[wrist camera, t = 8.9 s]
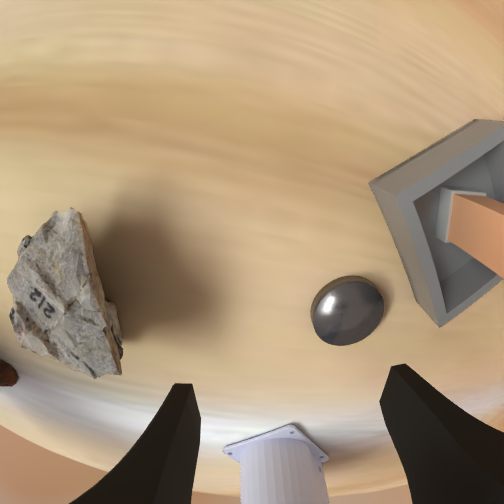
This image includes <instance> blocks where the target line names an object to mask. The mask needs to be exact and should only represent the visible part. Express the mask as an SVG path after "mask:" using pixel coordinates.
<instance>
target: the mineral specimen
mask: <svg viewBox="0 0 504 504" xmlns="http://www.w3.org/2000/svg"><path fill="white" fill-rule="evenodd" d="M17 253H18V261H17V263H16V265H15V267H14V269H13V270H12V271H11V273H10V274H9V276H8V278H7V284H8V287H9V289H10V291H11V293H12V294H13V301H14V304H13V307H12V309H11V312H10V315H9V316H10V320H11V322H12V324H13V328H14V333H15V337H16V339H17V341H18V342H19V344H20V346H21V347H22V348H24V349H26V350H28V351H32V352H35V353H37V354H39V355H40V356H41V357H42V356H48V357H50V358H52V359H56V360H59V361H60V362H61V363H64V364H66V365H68V366H69V367H70V368H71V369H73V370H75V371H81V372H83V373H85V374H87V375H89V376H91V377H93V378H94V379H95V378H97V377H100V376H103V375H121V374H122V370H121V363H120V360H121V358H122V356H123V348H122V347H121V345H122V338H123V336H122V334H121V331H120V325H119V320H118V317H117V307H116V306H115V304H114V303H113V302H107V301H106V300H105V299H104V296H105V294H104V292H103V288H102V284H101V281H100V277H99V275H98V272H97V269H96V263H95V259H94V255H93V248H92V243H91V239H90V235H89V230H88V227H87V224H86V222H85V221H84V219H83V217H82V214H81V213H79V212H78V211H76V210H75V209H73V208H70V209H69V210H67V211H66V212H65V213H63V214H61V213H58V212H57V211H55V212H54V213H53V214H52V215H51V217H50V219H49V220H48V221H47V222H46V223H44V224H43V225H42V226H41V227H40V229H39V230H38V231H37V232H36V234H35V236H33V237H31V236H29V235H28V236H25V237H24V238H23V240H22V241H21V243H20V245H19V248H18V251H17Z"/></svg>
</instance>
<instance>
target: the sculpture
mask: <svg viewBox="0 0 504 504" xmlns="http://www.w3.org/2000/svg"><path fill="white" fill-rule="evenodd" d="M18 378H19V377H18V374H17V372H16V370H15V369H14V368H13V367H12V366H11V365H10V364H7V363H5V362H3V361H2V360H0V386H11V387H12V386H13V385H15V384H16V382H17V380H18Z"/></svg>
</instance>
